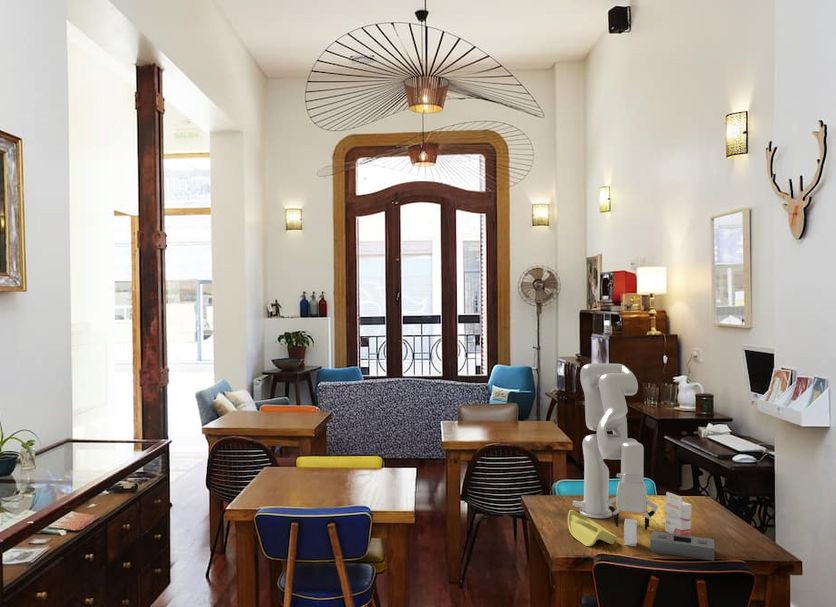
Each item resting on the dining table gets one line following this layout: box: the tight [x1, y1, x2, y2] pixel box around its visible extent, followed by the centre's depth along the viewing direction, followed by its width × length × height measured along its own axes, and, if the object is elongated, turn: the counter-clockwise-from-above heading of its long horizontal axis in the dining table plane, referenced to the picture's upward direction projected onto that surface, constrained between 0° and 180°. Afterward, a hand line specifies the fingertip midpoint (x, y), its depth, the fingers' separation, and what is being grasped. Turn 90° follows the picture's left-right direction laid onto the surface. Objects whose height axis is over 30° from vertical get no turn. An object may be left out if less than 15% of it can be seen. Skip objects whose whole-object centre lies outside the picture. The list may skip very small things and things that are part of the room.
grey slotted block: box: [649, 530, 715, 562], centre depth 240 cm, size 20×10×4 cm, turn 68°
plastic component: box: [567, 509, 618, 548], centre depth 252 cm, size 20×7×10 cm
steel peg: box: [623, 518, 638, 547], centre depth 246 cm, size 4×4×8 cm
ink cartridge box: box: [664, 491, 692, 536], centre depth 258 cm, size 9×5×15 cm, turn 23°
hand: (631, 527), depth 245 cm, fingers open, 9 cm apart
